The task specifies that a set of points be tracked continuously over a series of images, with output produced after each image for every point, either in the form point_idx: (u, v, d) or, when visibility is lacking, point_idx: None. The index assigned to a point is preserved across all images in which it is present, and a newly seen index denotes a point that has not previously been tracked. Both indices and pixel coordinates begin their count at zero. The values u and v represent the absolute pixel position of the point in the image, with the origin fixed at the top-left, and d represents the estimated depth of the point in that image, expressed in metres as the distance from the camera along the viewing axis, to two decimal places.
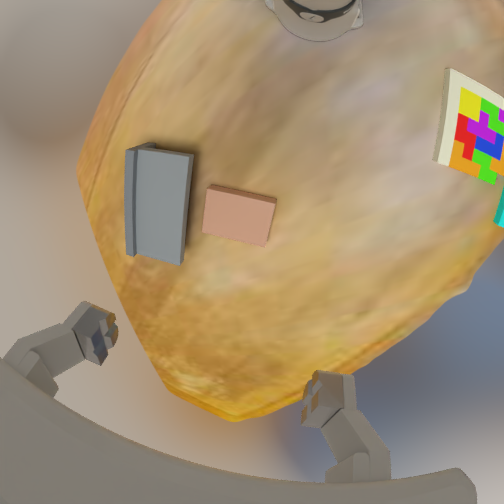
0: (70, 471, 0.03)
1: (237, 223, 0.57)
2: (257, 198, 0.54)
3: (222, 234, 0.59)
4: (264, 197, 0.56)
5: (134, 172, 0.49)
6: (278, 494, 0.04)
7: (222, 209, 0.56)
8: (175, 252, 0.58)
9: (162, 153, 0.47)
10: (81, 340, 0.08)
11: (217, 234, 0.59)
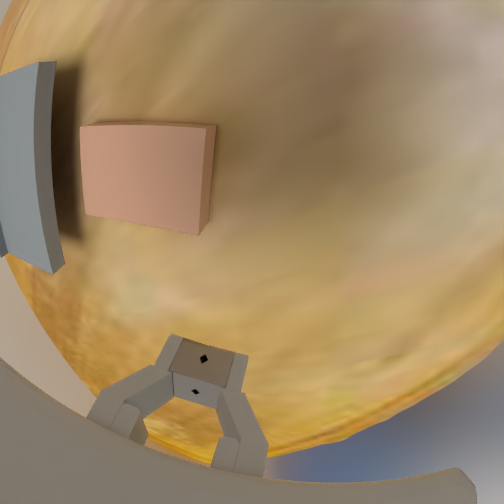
0: (70, 471, 0.03)
1: (135, 188, 0.24)
2: (167, 125, 0.21)
3: (115, 213, 0.26)
4: (188, 124, 0.23)
5: None
6: (278, 494, 0.04)
7: (106, 162, 0.23)
8: (41, 249, 0.25)
9: (12, 72, 0.14)
10: (179, 380, 0.08)
11: (108, 215, 0.26)
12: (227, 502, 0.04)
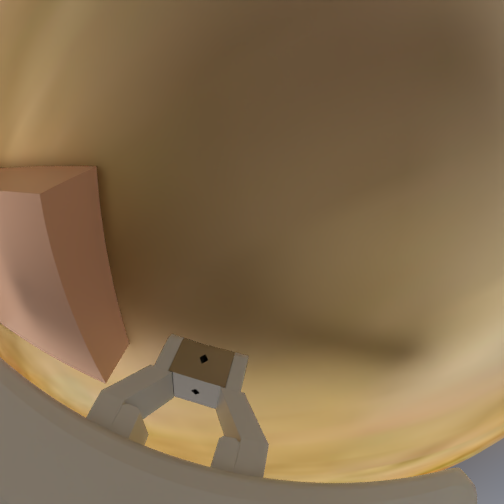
0: (70, 471, 0.03)
1: (2, 294, 0.10)
2: (0, 186, 0.07)
3: (1, 319, 0.12)
4: (44, 171, 0.09)
5: None
6: (278, 494, 0.04)
7: None
8: None
9: None
10: (179, 380, 0.08)
11: None
12: (227, 502, 0.04)
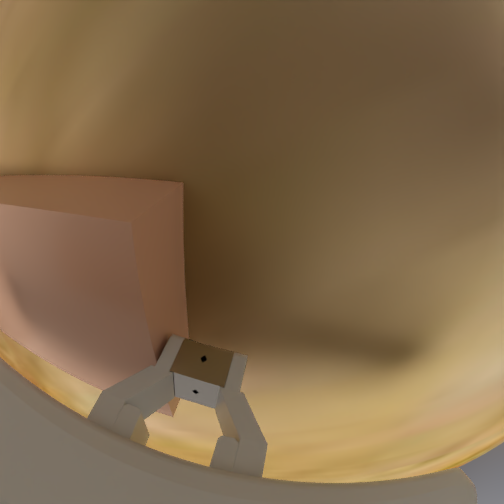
0: (70, 471, 0.03)
1: (40, 325, 0.10)
2: (46, 203, 0.07)
3: (32, 347, 0.11)
4: (106, 185, 0.08)
5: None
6: (278, 494, 0.04)
7: None
8: None
9: None
10: (180, 381, 0.08)
11: (25, 346, 0.12)
12: (227, 502, 0.04)
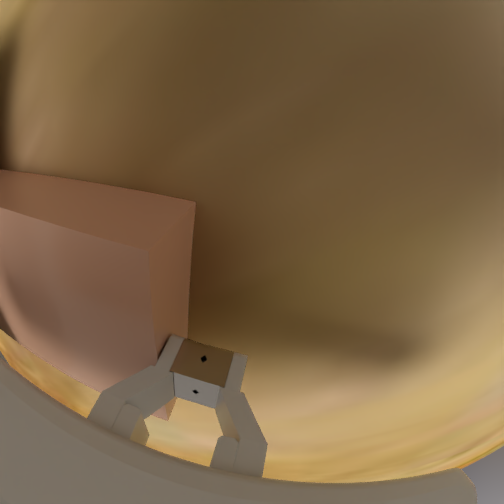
0: (70, 471, 0.03)
1: (39, 328, 0.10)
2: (56, 215, 0.07)
3: (28, 345, 0.11)
4: (116, 199, 0.08)
5: None
6: (278, 494, 0.04)
7: None
8: None
9: None
10: (180, 381, 0.08)
11: (21, 342, 0.12)
12: (227, 502, 0.04)
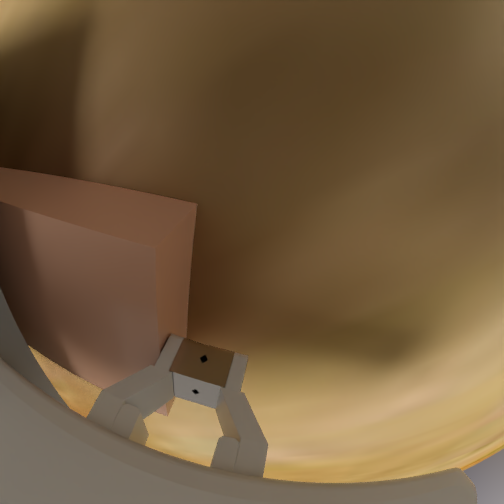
0: (70, 471, 0.03)
1: (41, 323, 0.10)
2: (63, 212, 0.07)
3: (29, 340, 0.12)
4: (122, 197, 0.08)
5: None
6: (278, 494, 0.04)
7: None
8: None
9: None
10: (179, 380, 0.08)
11: None
12: (227, 502, 0.04)
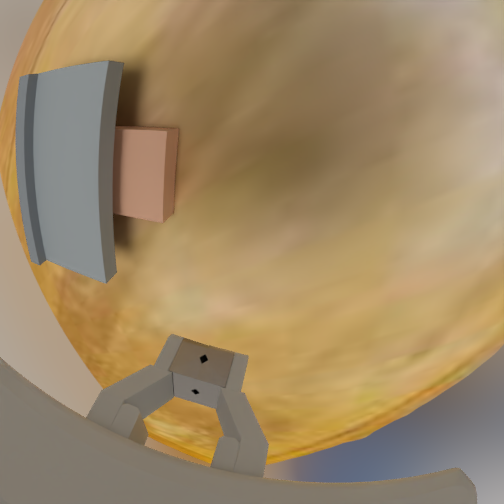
0: (70, 471, 0.03)
1: None
2: (137, 129, 0.25)
3: None
4: (155, 128, 0.26)
5: (27, 112, 0.19)
6: (278, 494, 0.04)
7: None
8: (95, 258, 0.27)
9: (68, 68, 0.17)
10: (179, 380, 0.08)
11: None
12: (227, 502, 0.04)
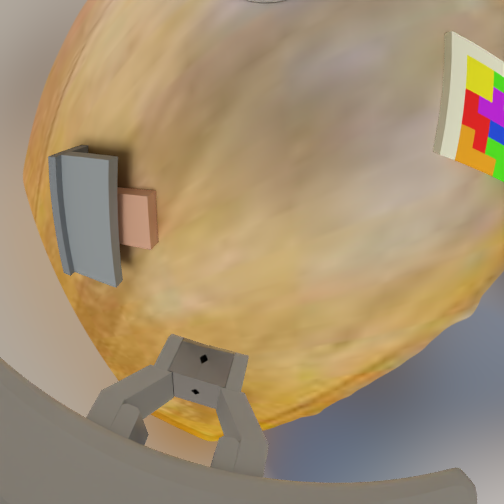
0: (70, 471, 0.03)
1: (118, 225, 0.45)
2: (130, 193, 0.42)
3: None
4: (141, 190, 0.44)
5: (58, 181, 0.37)
6: (278, 494, 0.04)
7: None
8: (109, 272, 0.45)
9: (83, 158, 0.35)
10: (179, 380, 0.08)
11: None
12: (227, 502, 0.04)
